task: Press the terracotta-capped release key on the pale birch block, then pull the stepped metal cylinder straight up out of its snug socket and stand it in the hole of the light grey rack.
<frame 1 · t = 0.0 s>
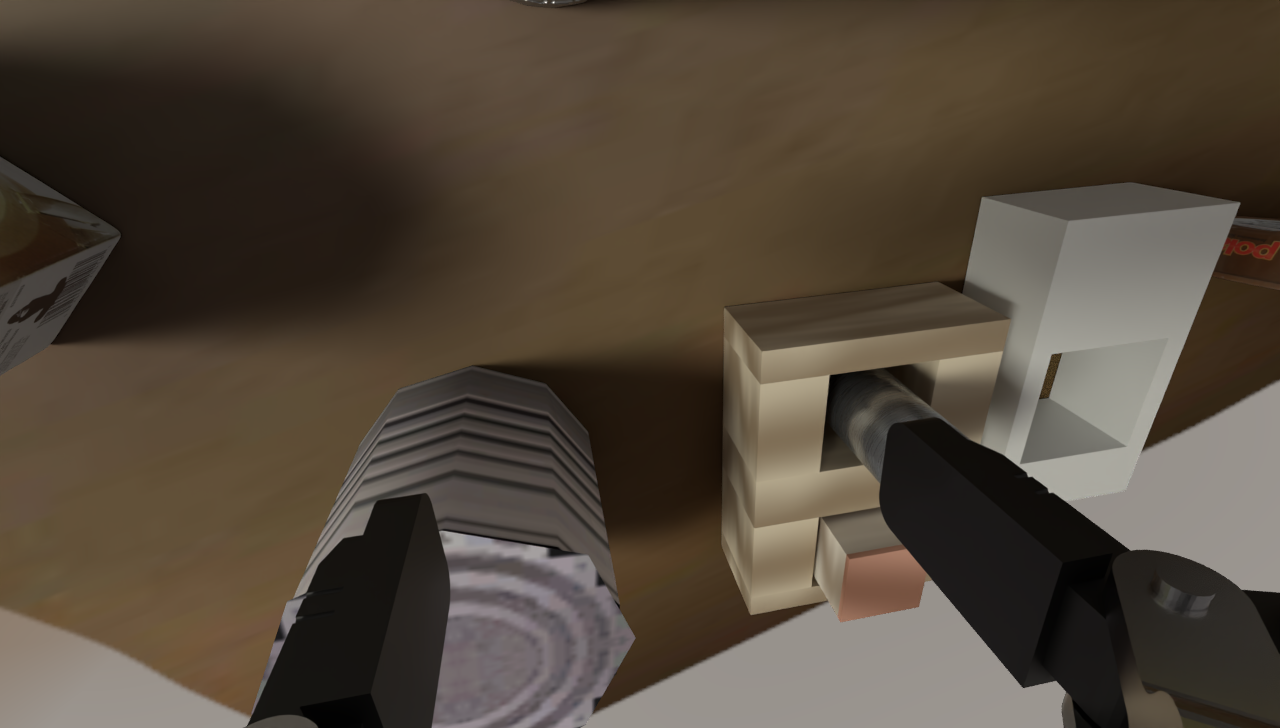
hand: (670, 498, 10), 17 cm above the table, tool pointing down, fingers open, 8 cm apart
stepped metal cylinder: (826, 367, 31), resting in socket block
rack: (1020, 332, 32), on the table
release key: (861, 549, 29), point 5 cm above the table, slide at 0.0 cm
socket block: (820, 424, 32), on the table
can: (480, 464, 30), on the table
tin: (1253, 236, 32), on the table
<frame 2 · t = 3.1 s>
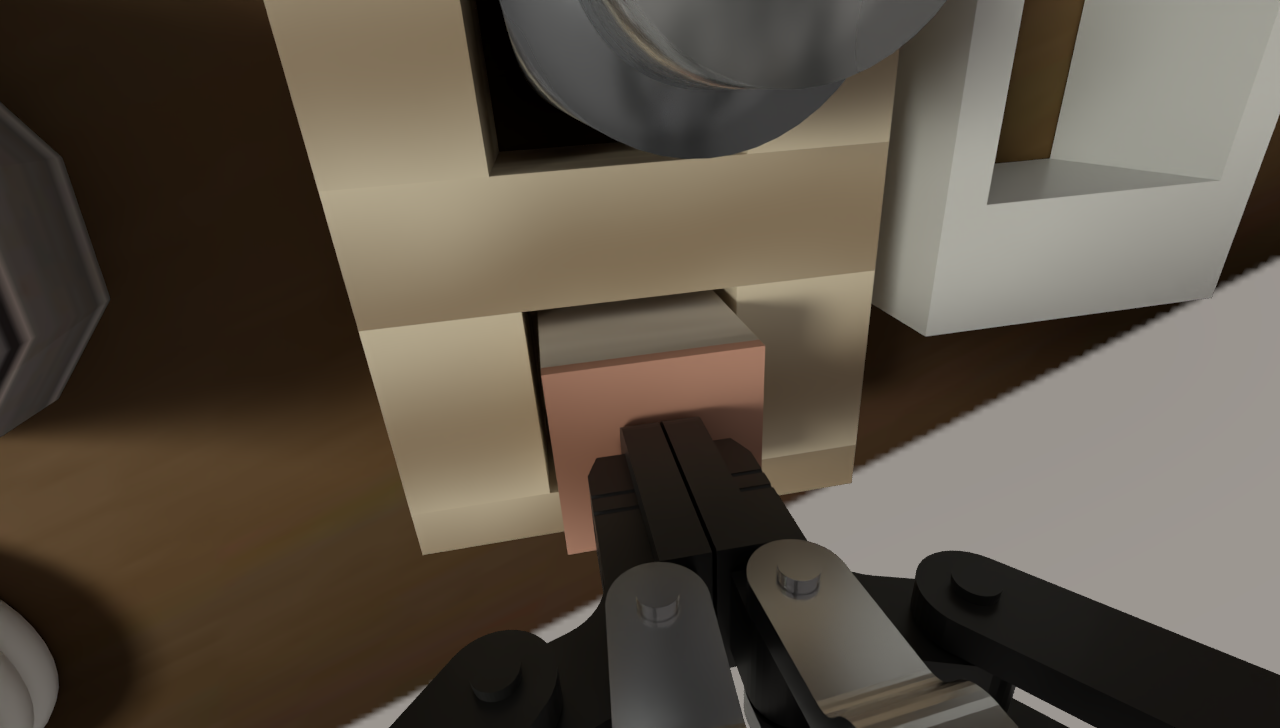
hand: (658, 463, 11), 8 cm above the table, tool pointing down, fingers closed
stepped metal cylinder: (584, 37, 15), resting in socket block
release key: (640, 400, 13), point 5 cm above the table, slide at 0.0 cm, touching gripper
socket block: (597, 182, 16), on the table
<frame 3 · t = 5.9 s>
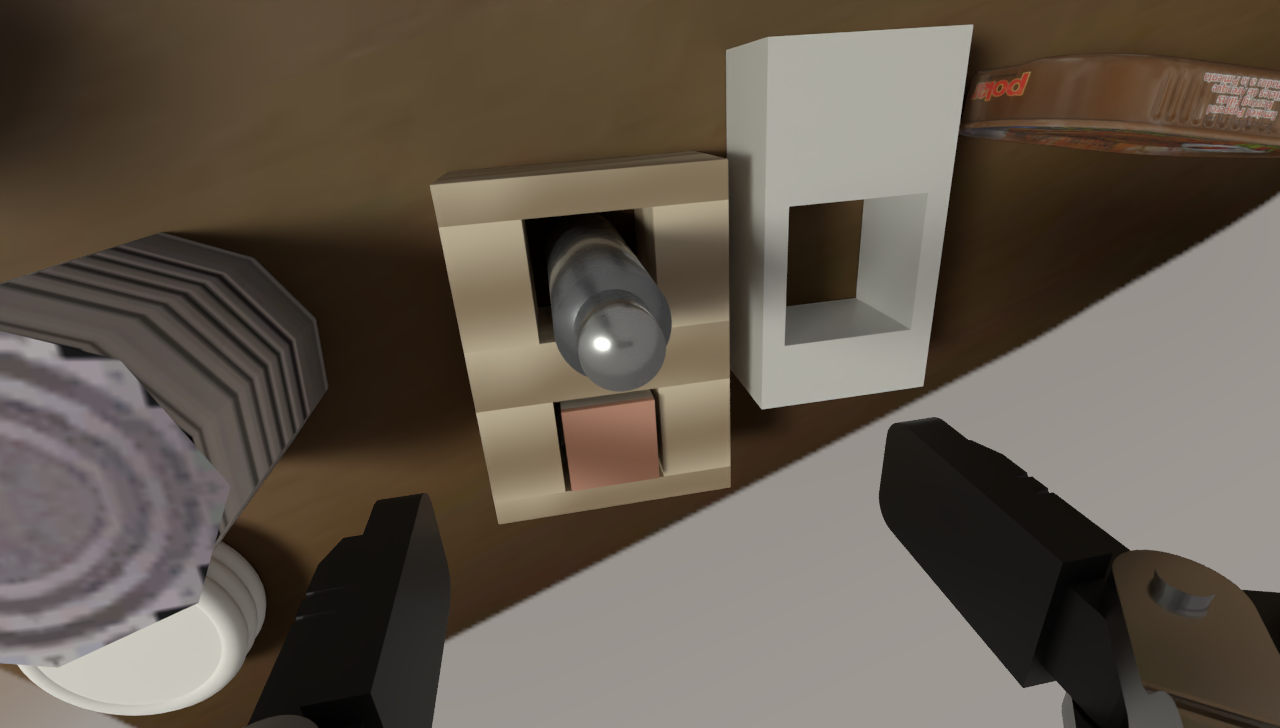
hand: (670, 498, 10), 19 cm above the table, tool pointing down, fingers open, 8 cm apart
stepped metal cylinder: (584, 250, 28), resting in socket block
rack: (805, 217, 29), on the table
release key: (606, 422, 28), point 3 cm above the table, slide at 2.0 cm
white round container: (168, 591, 32), on the table
socket block: (591, 320, 29), on the table
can: (198, 355, 27), on the table
tin: (1058, 112, 30), on the table
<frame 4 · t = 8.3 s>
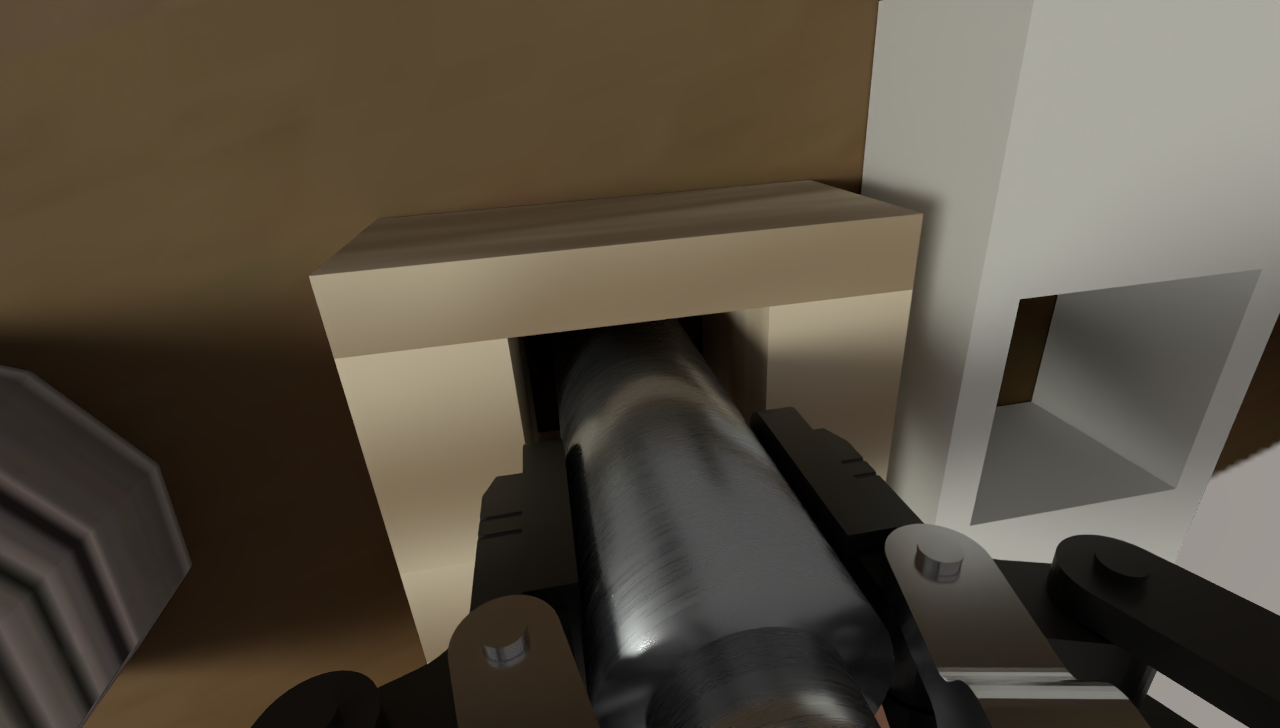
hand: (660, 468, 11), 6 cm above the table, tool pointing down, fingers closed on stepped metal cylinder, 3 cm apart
stepped metal cylinder: (616, 343, 17), resting in socket block, touching gripper
rack: (974, 284, 18), on the table
socket block: (624, 449, 18), on the table
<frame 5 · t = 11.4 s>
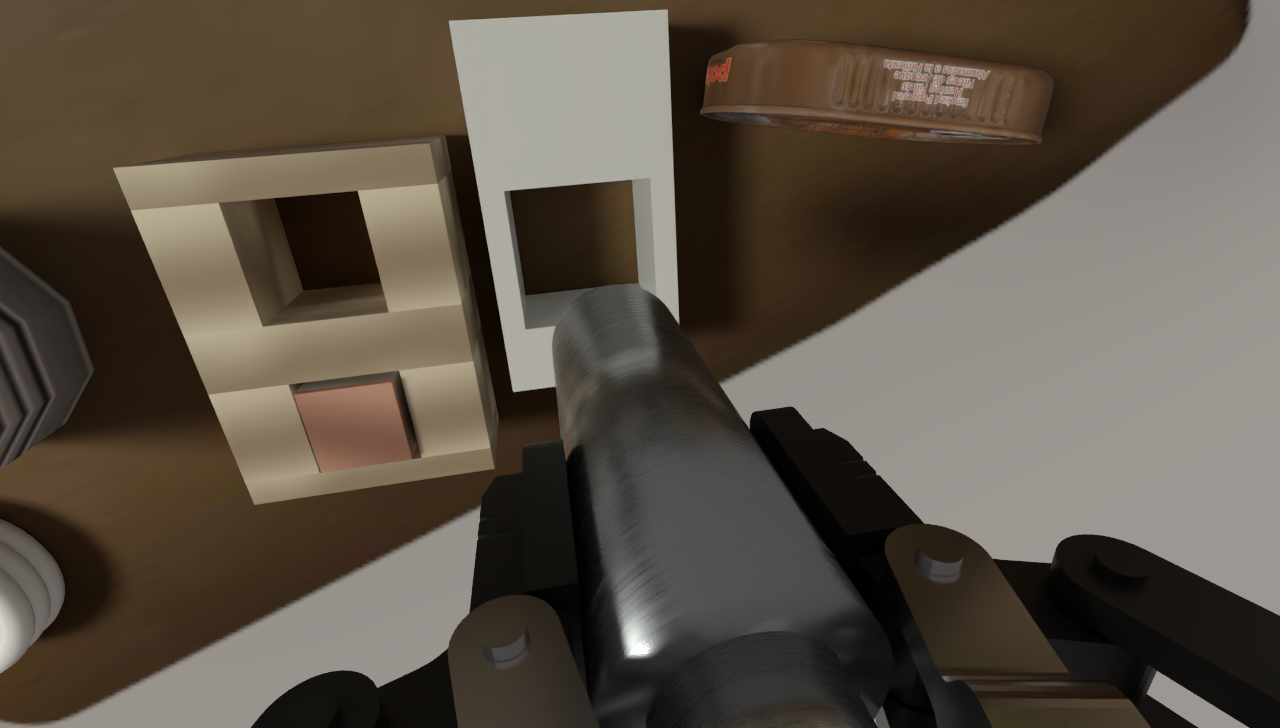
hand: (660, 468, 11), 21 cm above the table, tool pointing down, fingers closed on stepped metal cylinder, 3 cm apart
stepped metal cylinder: (616, 346, 17), point 15 cm above the table, touching gripper
rack: (573, 201, 29), on the table
release key: (367, 404, 28), point 3 cm above the table, slide at 2.0 cm
socket block: (362, 304, 30), on the table
tin: (827, 98, 30), on the table
when the fingers open (8 cm above the table, at t = 14.8 s): stepped metal cylinder drops 1 cm, resting in rack.
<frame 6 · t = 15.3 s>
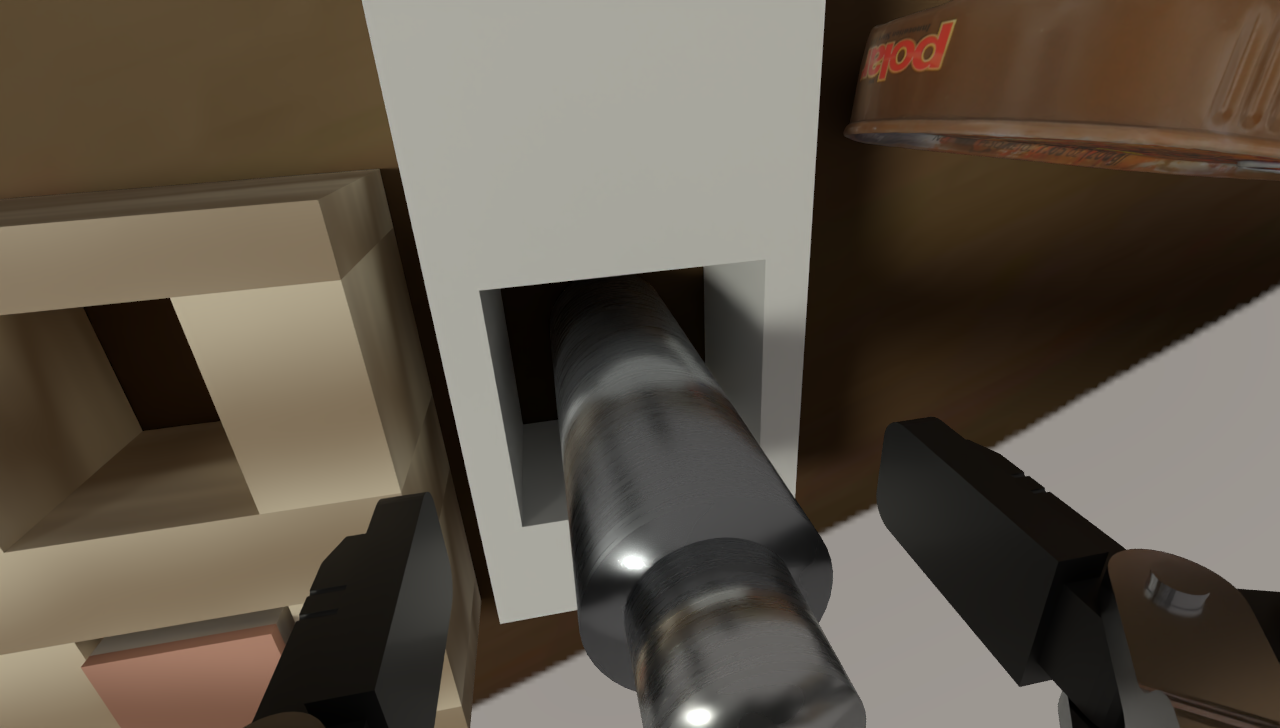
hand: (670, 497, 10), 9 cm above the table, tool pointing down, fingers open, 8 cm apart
stepped metal cylinder: (608, 326, 18), resting in rack
rack: (604, 277, 17), on the table
release key: (248, 632, 16), point 3 cm above the table, slide at 2.0 cm
socket block: (248, 447, 18), on the table
tin: (1028, 103, 18), on the table
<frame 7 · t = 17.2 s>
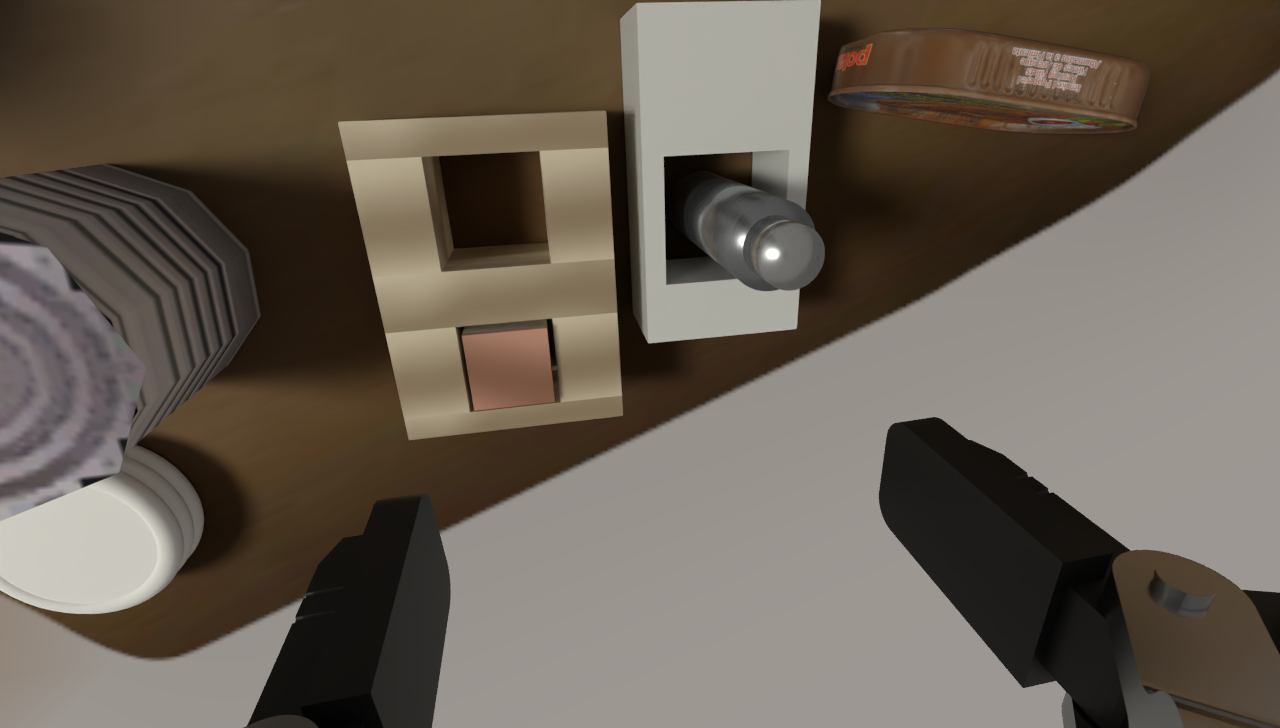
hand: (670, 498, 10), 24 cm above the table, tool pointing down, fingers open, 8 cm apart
stepped metal cylinder: (699, 204, 33), resting in rack
rack: (699, 175, 32), on the table
release key: (511, 353, 31), point 3 cm above the table, slide at 2.0 cm
white round container: (112, 504, 35), on the table
socket block: (503, 263, 32), on the table
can: (140, 280, 30), on the table
tin: (928, 90, 33), on the table
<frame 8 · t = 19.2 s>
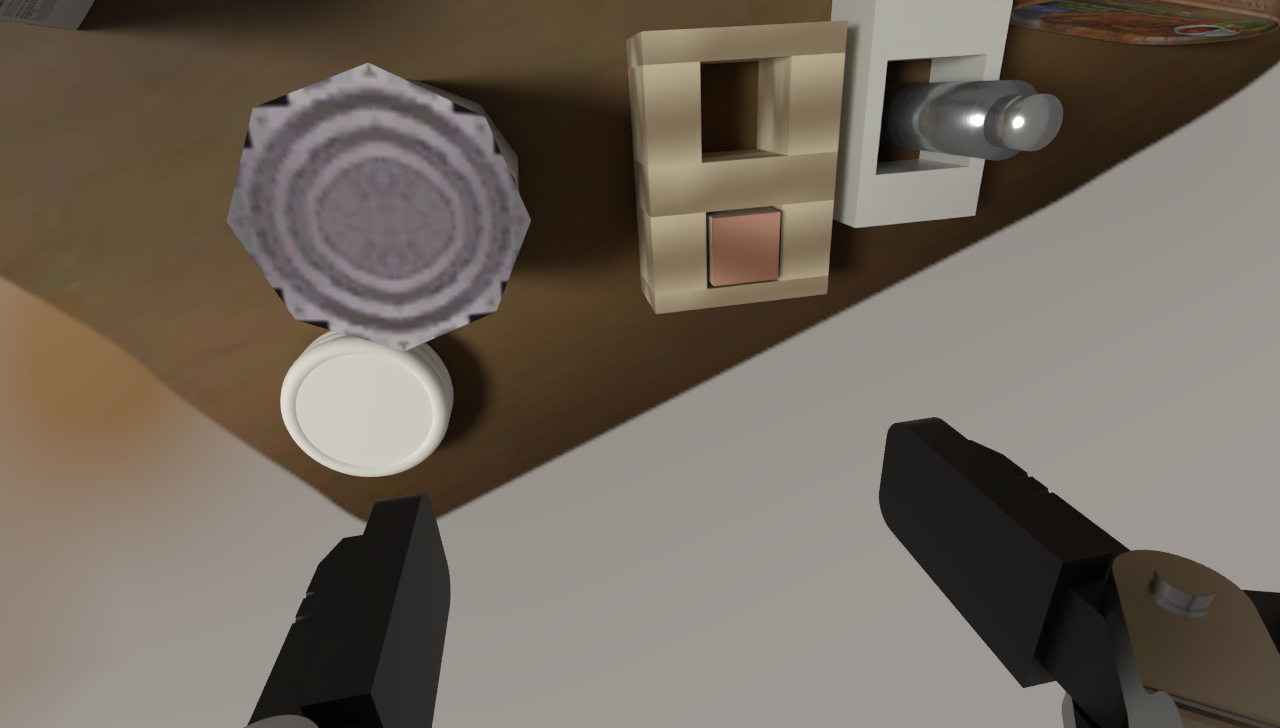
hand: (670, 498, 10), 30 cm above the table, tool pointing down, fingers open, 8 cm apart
stepped metal cylinder: (882, 114, 38), resting in rack
rack: (885, 88, 38), on the table
release key: (734, 241, 37), point 3 cm above the table, slide at 2.0 cm
white round container: (378, 387, 40), on the table
socket block: (718, 168, 38), on the table
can: (428, 183, 36), on the table
tin: (1080, 9, 38), on the table
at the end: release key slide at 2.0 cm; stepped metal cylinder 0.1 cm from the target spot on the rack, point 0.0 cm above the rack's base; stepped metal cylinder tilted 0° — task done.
